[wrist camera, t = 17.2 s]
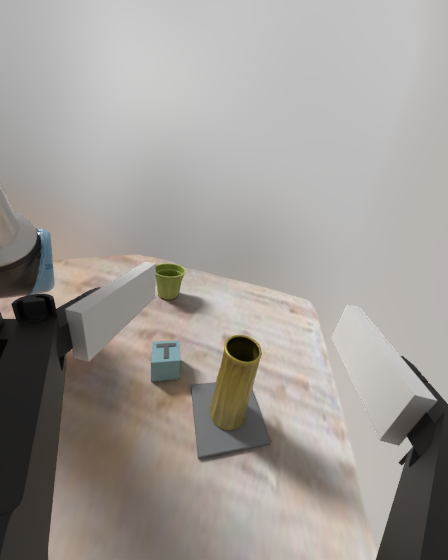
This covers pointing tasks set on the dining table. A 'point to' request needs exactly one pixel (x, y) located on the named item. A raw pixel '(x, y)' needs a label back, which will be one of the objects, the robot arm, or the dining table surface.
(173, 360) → the letter cube
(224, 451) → the slate mat
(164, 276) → the plant pot
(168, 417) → the dining table surface
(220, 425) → the vase
